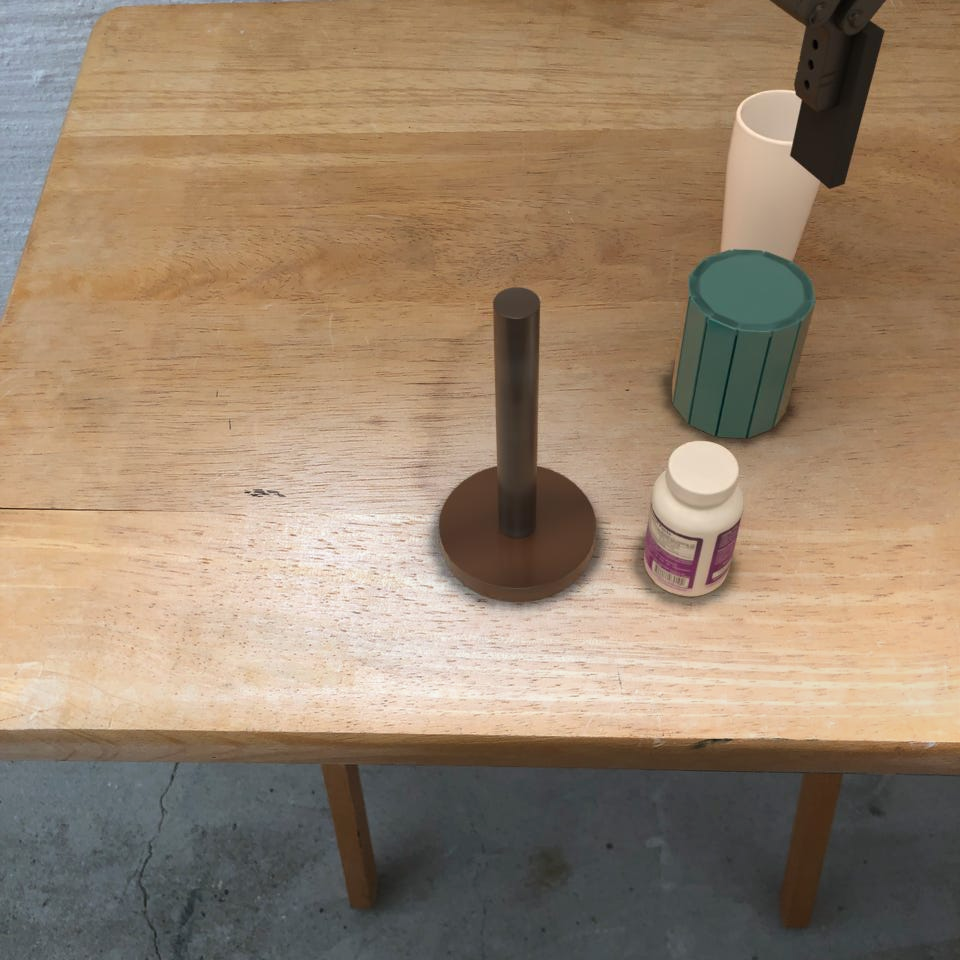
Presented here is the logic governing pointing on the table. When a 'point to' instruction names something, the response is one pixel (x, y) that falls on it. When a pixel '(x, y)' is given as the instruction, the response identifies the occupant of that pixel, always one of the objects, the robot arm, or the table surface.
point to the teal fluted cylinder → (740, 342)
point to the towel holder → (517, 484)
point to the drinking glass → (766, 178)
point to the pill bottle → (694, 519)
